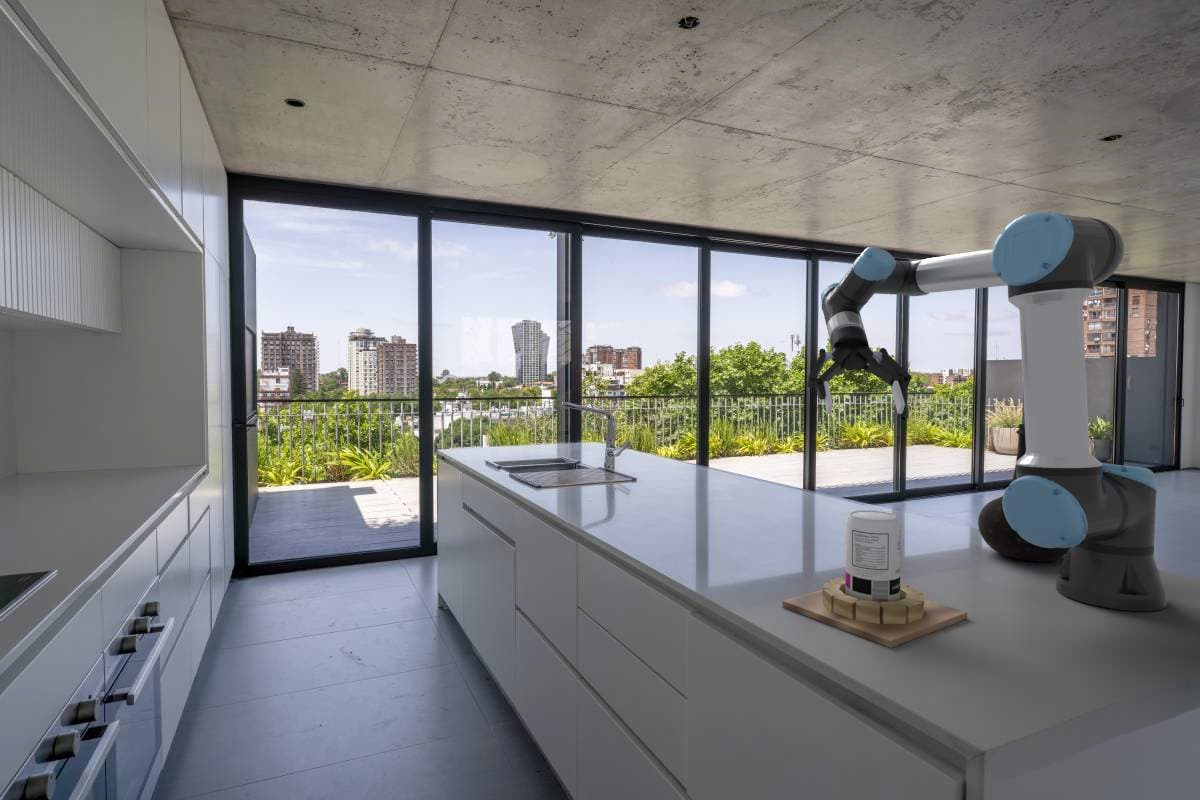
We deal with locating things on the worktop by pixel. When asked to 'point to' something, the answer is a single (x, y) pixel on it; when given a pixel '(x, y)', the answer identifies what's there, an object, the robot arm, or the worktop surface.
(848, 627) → the hub seat
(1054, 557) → the dark vase
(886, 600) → the supplement can
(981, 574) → the worktop surface
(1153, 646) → the worktop surface
